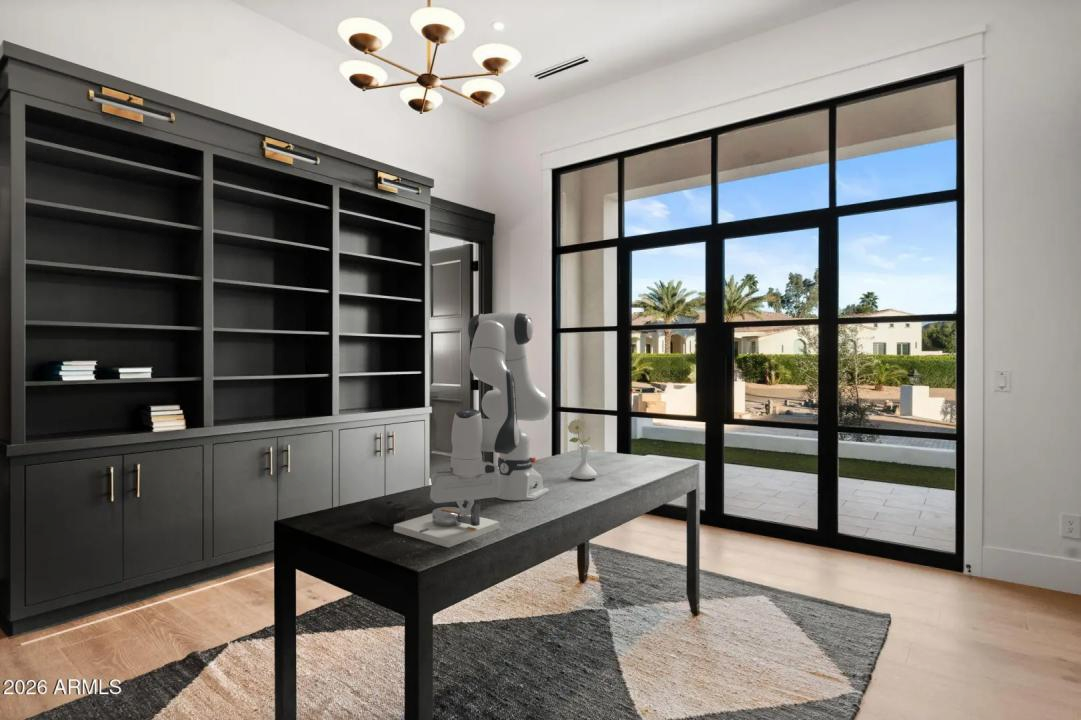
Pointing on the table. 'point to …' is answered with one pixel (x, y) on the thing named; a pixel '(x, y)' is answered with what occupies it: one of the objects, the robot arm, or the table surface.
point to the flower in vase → (583, 468)
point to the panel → (444, 530)
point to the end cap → (385, 513)
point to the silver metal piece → (456, 515)
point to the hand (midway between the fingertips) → (465, 515)
